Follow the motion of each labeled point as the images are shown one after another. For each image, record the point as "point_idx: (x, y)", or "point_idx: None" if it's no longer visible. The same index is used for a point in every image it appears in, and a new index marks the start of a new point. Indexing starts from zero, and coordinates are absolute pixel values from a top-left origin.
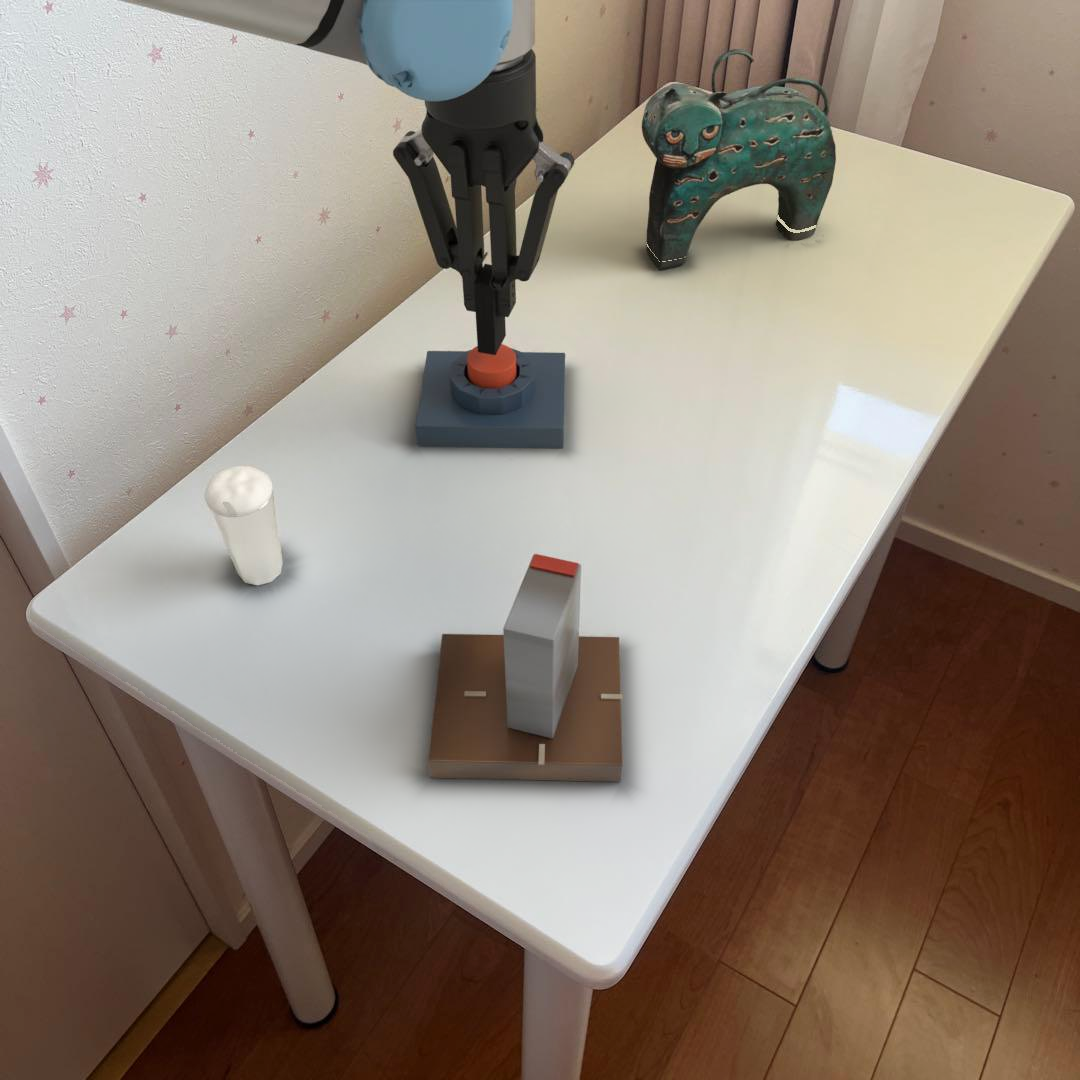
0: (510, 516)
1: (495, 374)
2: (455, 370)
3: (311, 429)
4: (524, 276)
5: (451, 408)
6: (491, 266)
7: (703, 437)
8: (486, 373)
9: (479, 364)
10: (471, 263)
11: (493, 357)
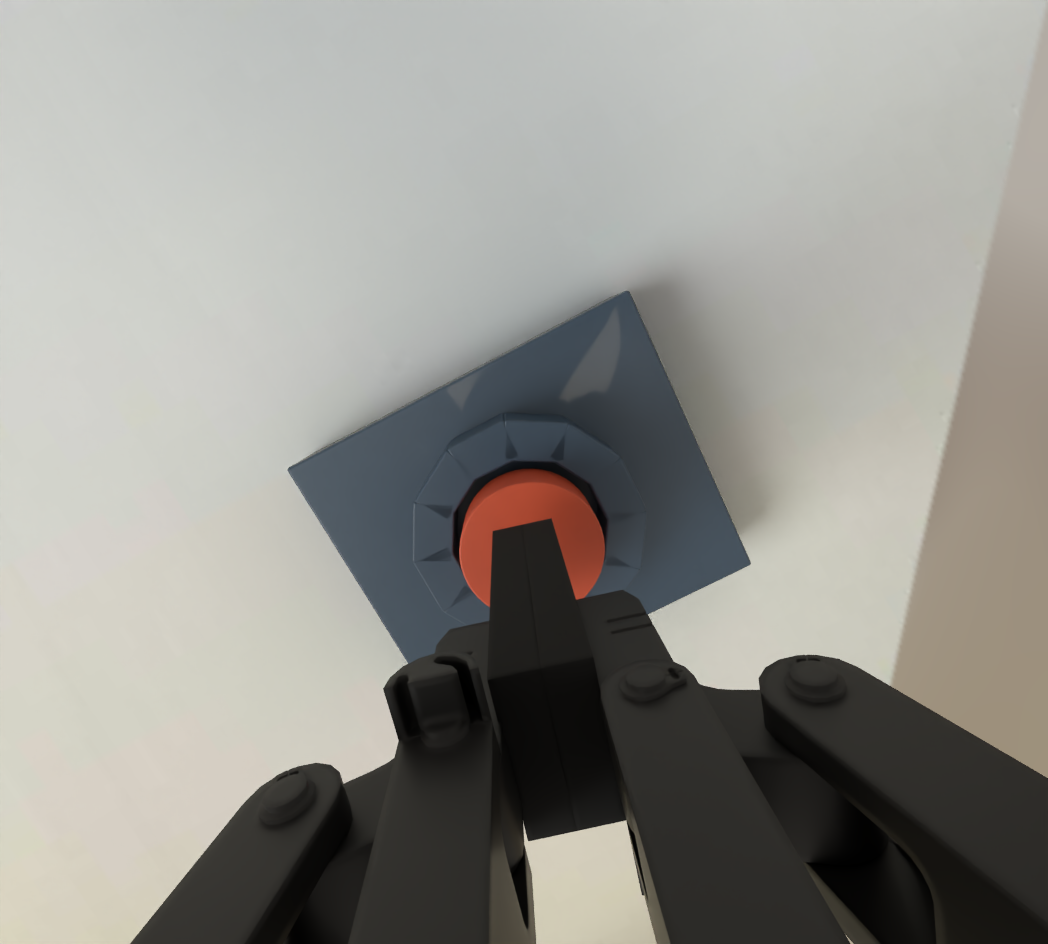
0: (286, 186)
1: (484, 496)
2: (621, 490)
3: (882, 221)
4: (269, 791)
5: (579, 397)
6: (584, 815)
7: (63, 637)
8: (509, 485)
9: (547, 508)
10: (632, 741)
11: None
